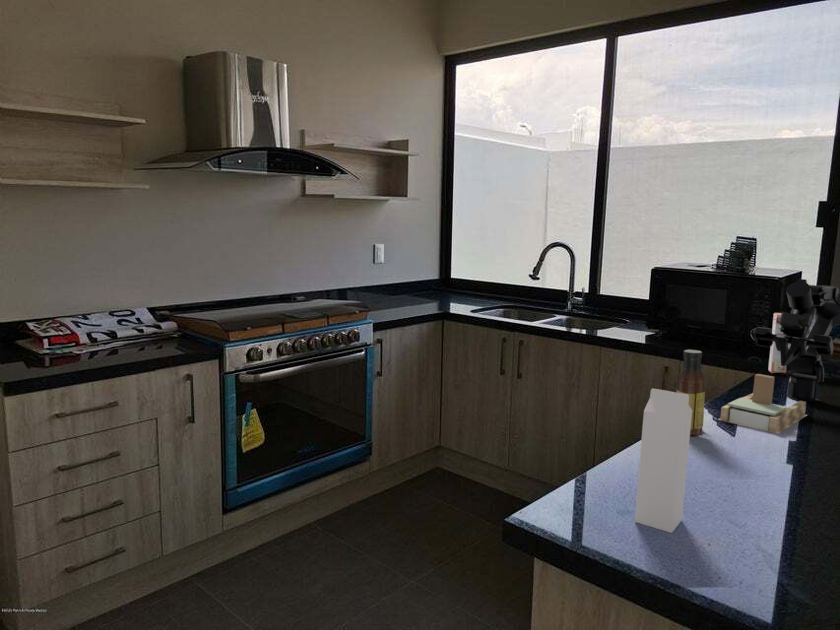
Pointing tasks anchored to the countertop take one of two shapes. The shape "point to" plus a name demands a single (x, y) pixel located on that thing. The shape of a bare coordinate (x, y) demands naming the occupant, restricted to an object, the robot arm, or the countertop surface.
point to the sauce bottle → (693, 388)
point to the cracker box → (774, 353)
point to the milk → (663, 460)
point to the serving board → (777, 421)
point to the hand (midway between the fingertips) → (782, 365)
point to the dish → (750, 418)
